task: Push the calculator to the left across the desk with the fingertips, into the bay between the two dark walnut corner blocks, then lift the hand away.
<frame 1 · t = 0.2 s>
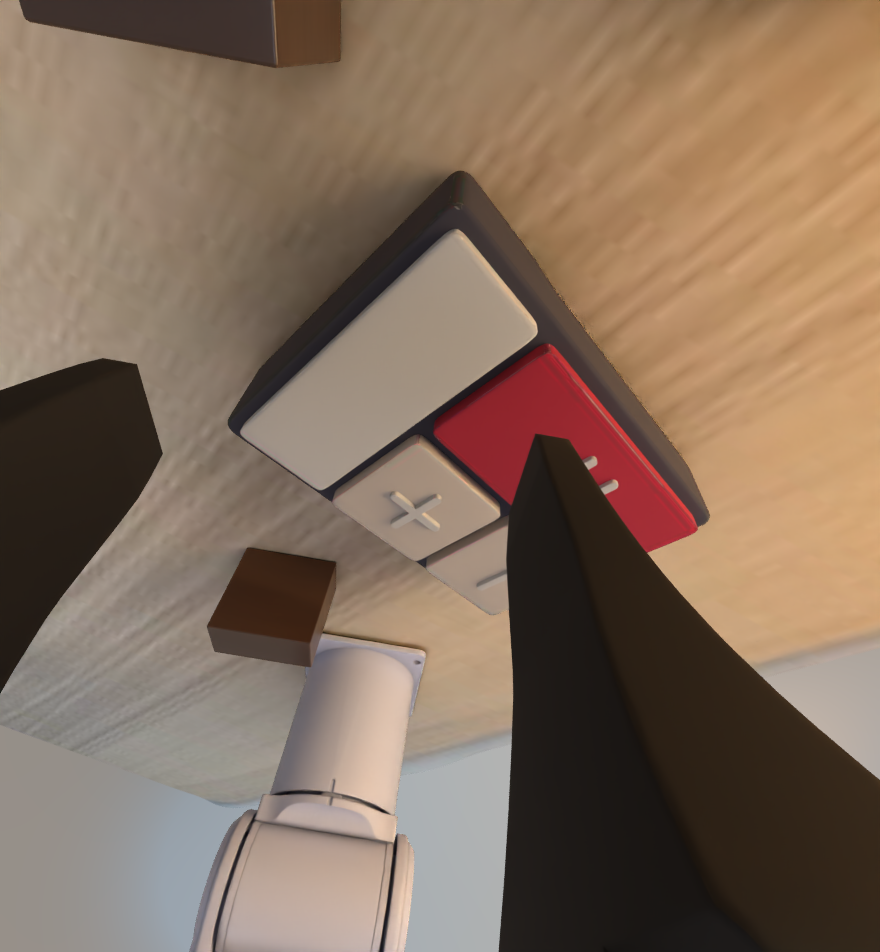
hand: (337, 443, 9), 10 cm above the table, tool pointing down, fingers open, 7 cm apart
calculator: (481, 420, 21), on the table
corner blocks: (277, 387, 21), on the table
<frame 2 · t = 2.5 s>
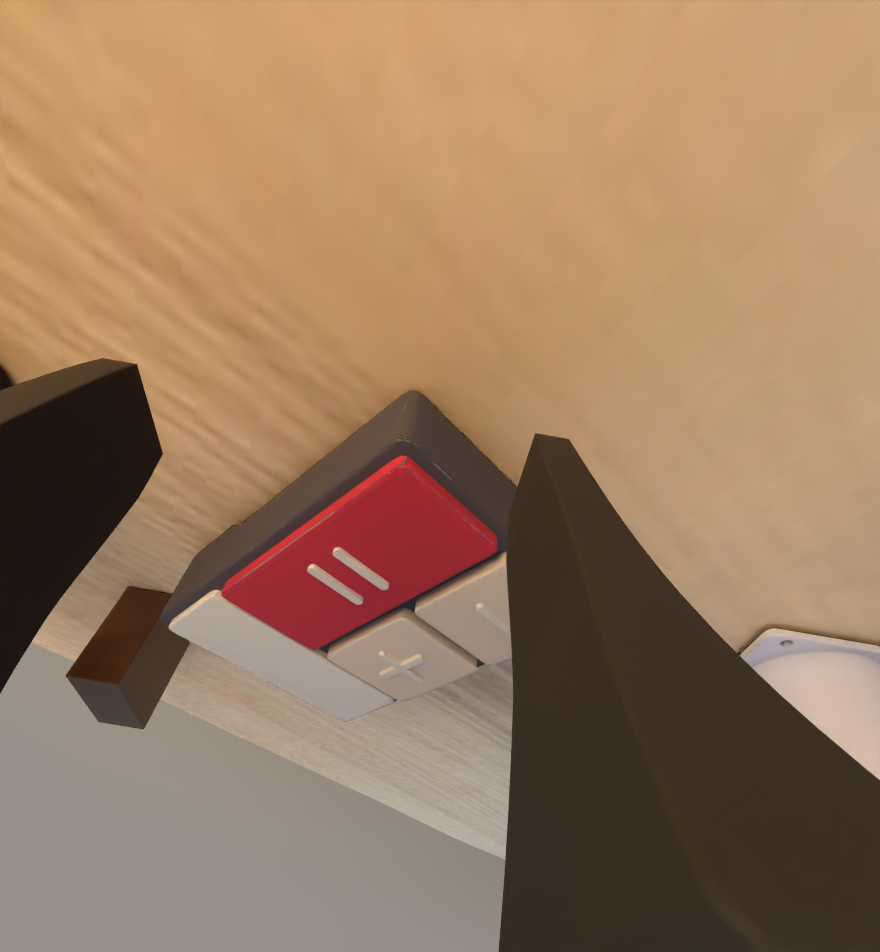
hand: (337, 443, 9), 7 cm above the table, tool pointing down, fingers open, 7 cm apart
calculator: (382, 553, 23), on the table
corner blocks: (371, 652, 28), on the table
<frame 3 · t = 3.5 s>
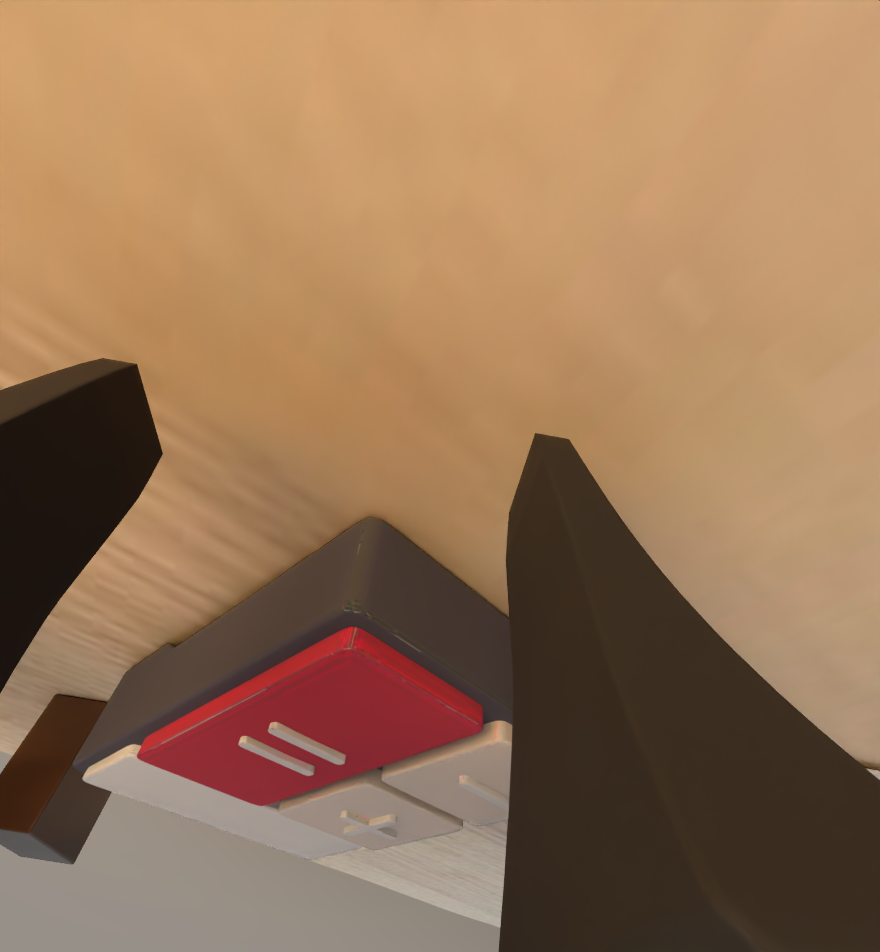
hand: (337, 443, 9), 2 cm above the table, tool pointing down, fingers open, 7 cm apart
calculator: (348, 672, 19), on the table
corner blocks: (344, 761, 24), on the table
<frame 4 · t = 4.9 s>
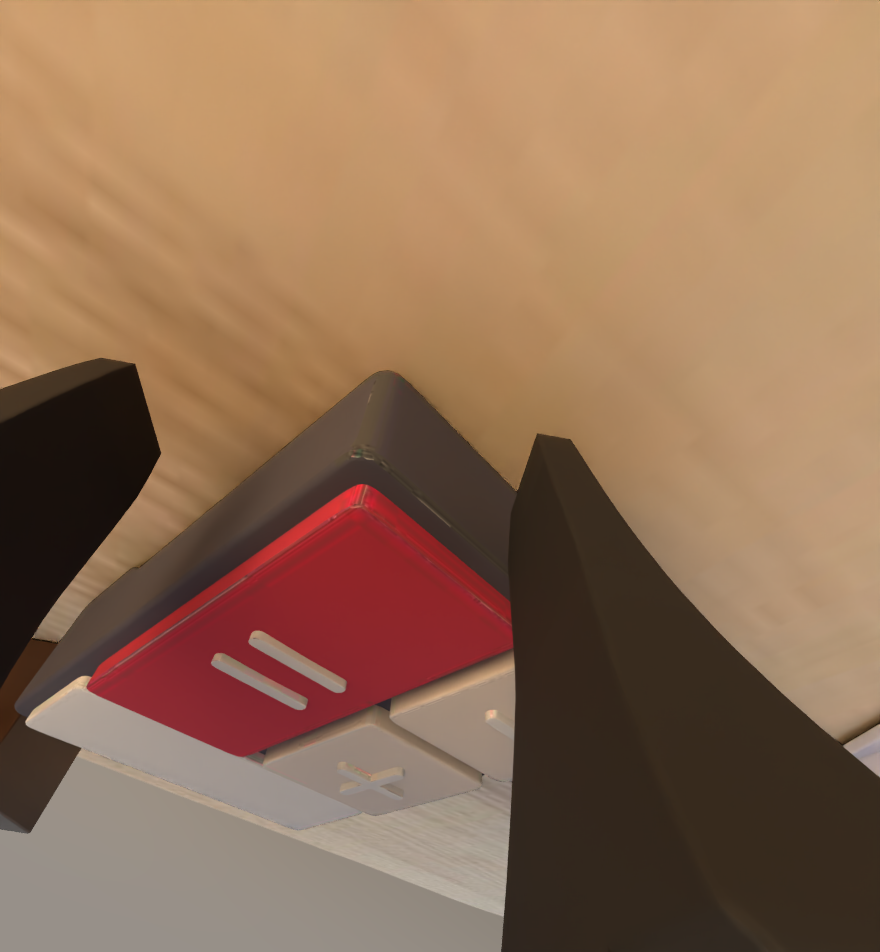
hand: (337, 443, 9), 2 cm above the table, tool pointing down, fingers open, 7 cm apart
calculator: (348, 607, 16), on the table, touching gripper
corner blocks: (346, 717, 21), on the table
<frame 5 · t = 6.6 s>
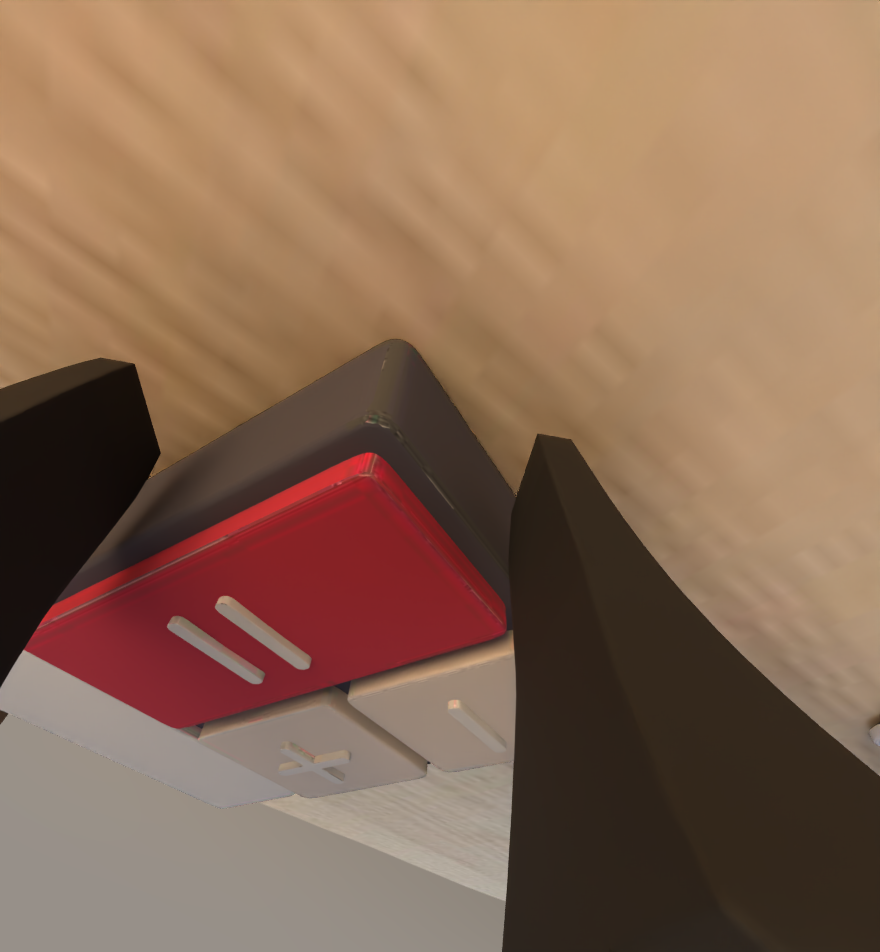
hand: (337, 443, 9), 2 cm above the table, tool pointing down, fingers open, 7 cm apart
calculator: (307, 582, 16), on the table, touching gripper
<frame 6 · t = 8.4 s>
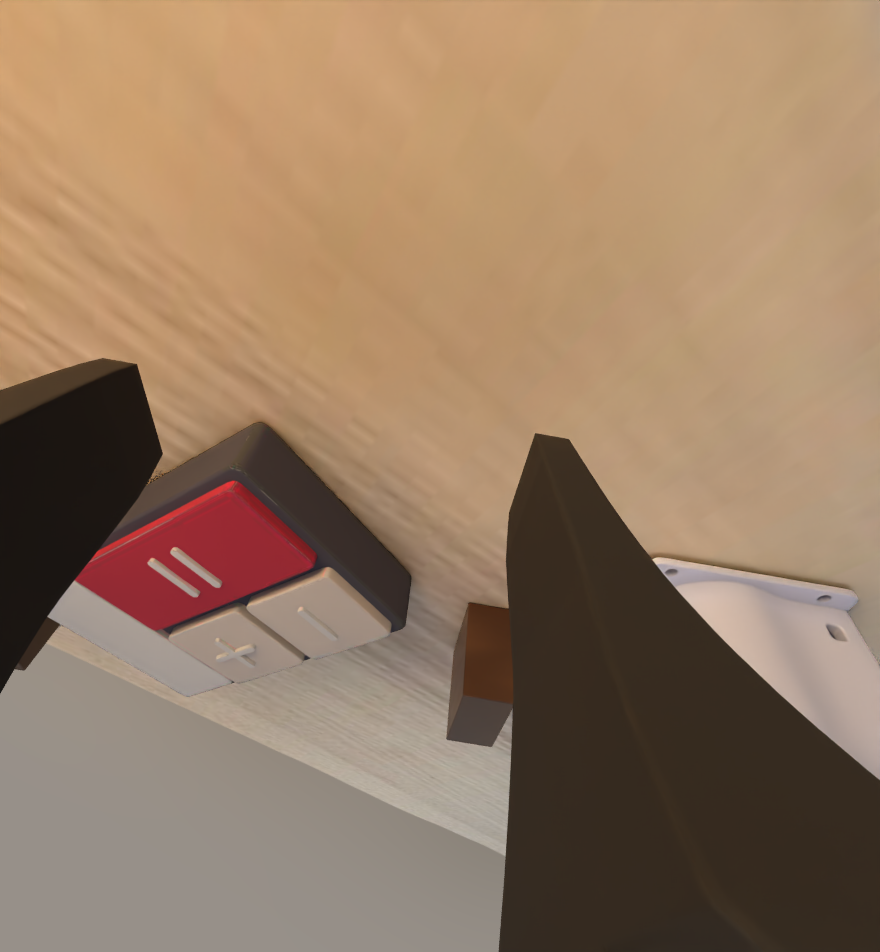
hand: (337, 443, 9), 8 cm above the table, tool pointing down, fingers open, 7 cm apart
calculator: (237, 550, 26), on the table
corner blocks: (268, 595, 28), on the table
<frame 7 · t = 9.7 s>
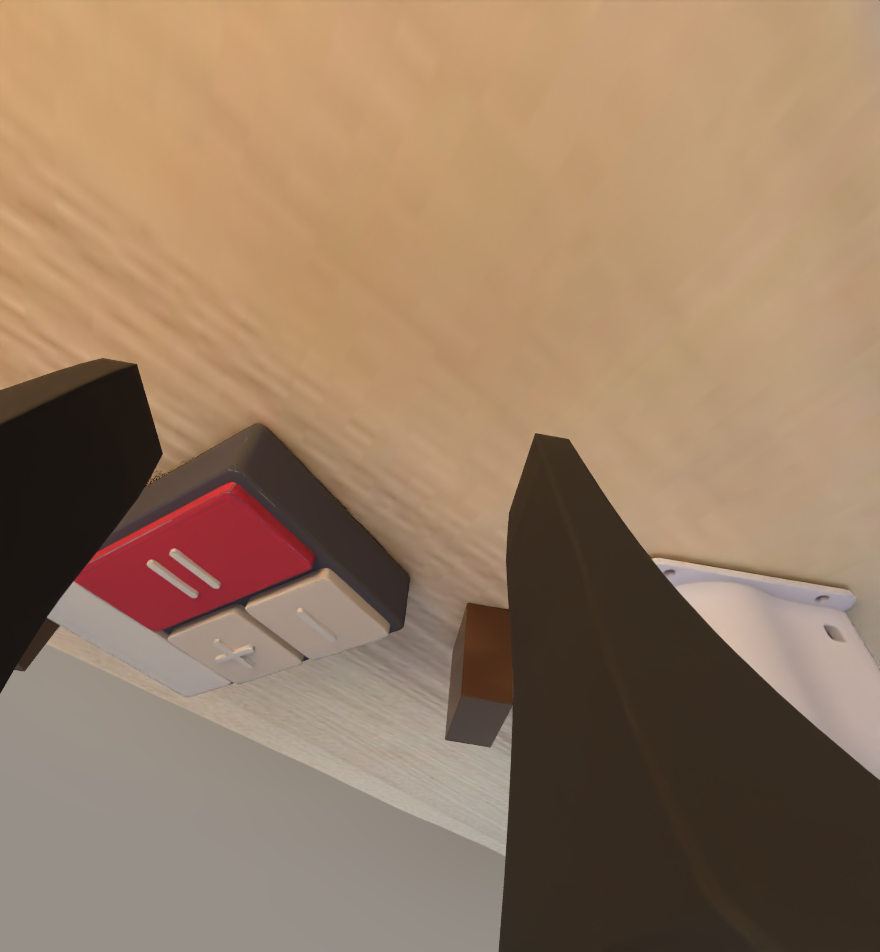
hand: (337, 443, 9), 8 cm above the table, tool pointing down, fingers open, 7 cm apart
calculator: (236, 551, 26), on the table
corner blocks: (267, 596, 28), on the table
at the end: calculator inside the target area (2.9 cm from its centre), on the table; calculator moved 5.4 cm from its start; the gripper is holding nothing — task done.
